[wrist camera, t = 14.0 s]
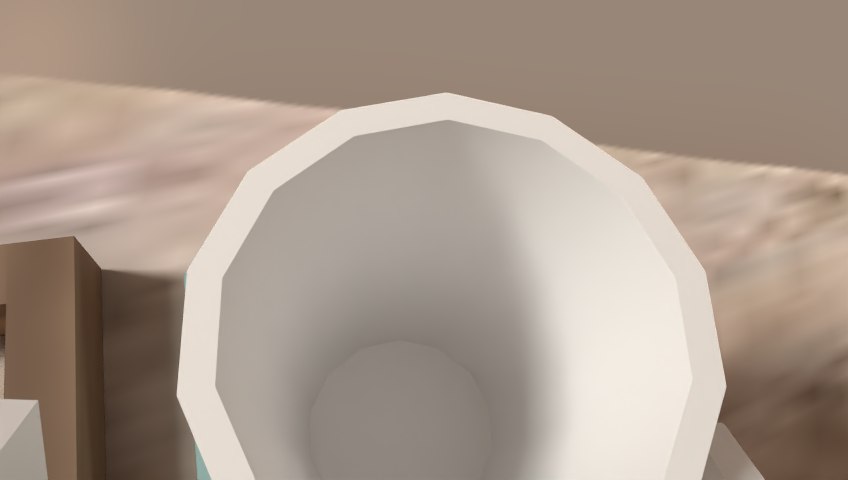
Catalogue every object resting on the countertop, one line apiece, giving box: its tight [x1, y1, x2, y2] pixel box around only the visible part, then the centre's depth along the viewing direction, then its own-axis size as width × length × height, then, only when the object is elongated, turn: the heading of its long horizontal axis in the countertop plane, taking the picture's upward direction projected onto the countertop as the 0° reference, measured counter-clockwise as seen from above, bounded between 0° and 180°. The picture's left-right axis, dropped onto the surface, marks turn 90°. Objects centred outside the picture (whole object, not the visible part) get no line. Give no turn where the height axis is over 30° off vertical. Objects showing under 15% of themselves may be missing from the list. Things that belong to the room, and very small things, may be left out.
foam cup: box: [177, 93, 727, 480], centre depth 19 cm, size 10×9×13 cm
